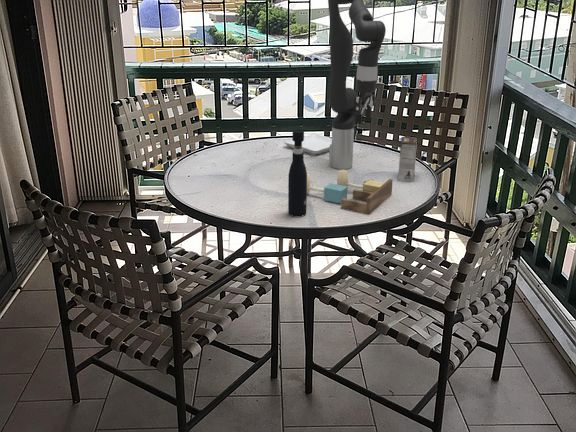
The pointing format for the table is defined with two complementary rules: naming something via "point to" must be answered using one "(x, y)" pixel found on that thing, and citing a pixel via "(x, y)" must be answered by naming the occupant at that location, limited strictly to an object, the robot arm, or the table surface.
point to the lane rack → (368, 199)
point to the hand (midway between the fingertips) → (363, 121)
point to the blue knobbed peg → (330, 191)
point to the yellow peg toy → (367, 186)
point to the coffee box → (407, 158)
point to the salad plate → (313, 144)
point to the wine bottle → (297, 178)
